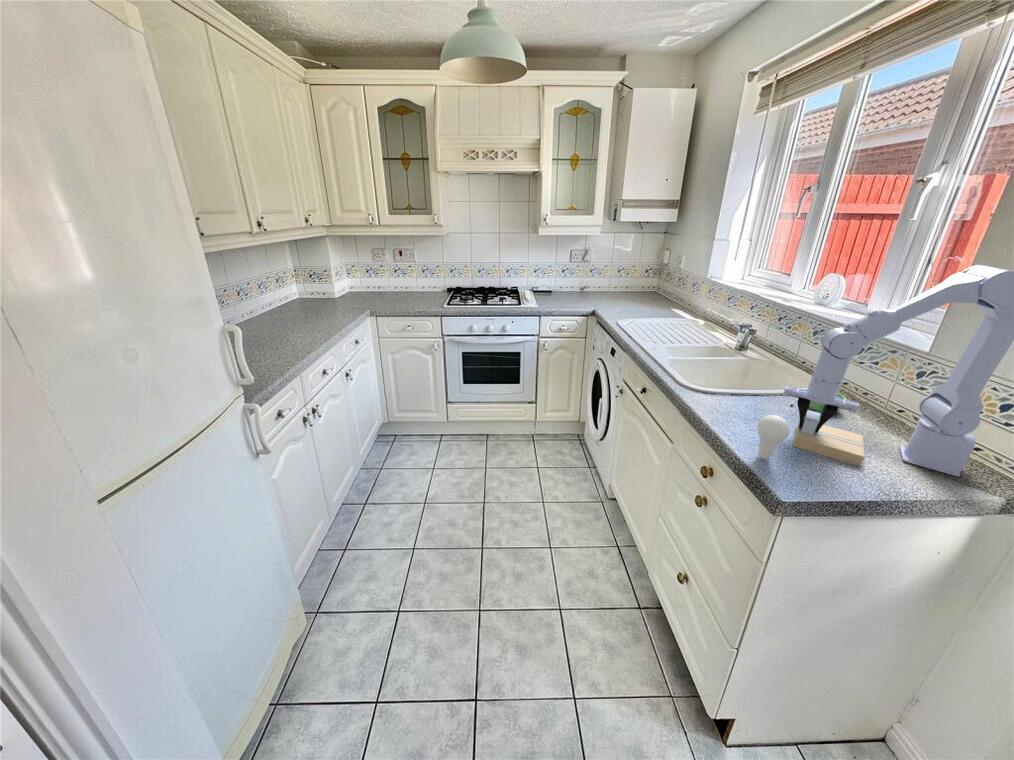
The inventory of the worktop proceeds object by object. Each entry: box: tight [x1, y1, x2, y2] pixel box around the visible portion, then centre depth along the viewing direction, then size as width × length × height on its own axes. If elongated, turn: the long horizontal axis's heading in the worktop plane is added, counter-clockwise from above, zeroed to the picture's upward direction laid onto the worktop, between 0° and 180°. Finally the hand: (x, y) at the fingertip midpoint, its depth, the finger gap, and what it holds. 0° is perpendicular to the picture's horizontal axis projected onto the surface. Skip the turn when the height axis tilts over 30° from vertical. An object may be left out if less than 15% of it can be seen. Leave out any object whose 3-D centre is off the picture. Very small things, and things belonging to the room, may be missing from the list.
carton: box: [792, 419, 865, 467], centre depth 100 cm, size 13×12×3 cm
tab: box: [801, 409, 821, 435], centre depth 101 cm, size 3×5×4 cm, turn 143°
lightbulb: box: [756, 414, 791, 460], centre depth 92 cm, size 6×6×11 cm
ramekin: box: [809, 392, 847, 414], centre depth 119 cm, size 9×9×4 cm
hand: (808, 428), depth 102 cm, fingers closed on tab, 3 cm apart
